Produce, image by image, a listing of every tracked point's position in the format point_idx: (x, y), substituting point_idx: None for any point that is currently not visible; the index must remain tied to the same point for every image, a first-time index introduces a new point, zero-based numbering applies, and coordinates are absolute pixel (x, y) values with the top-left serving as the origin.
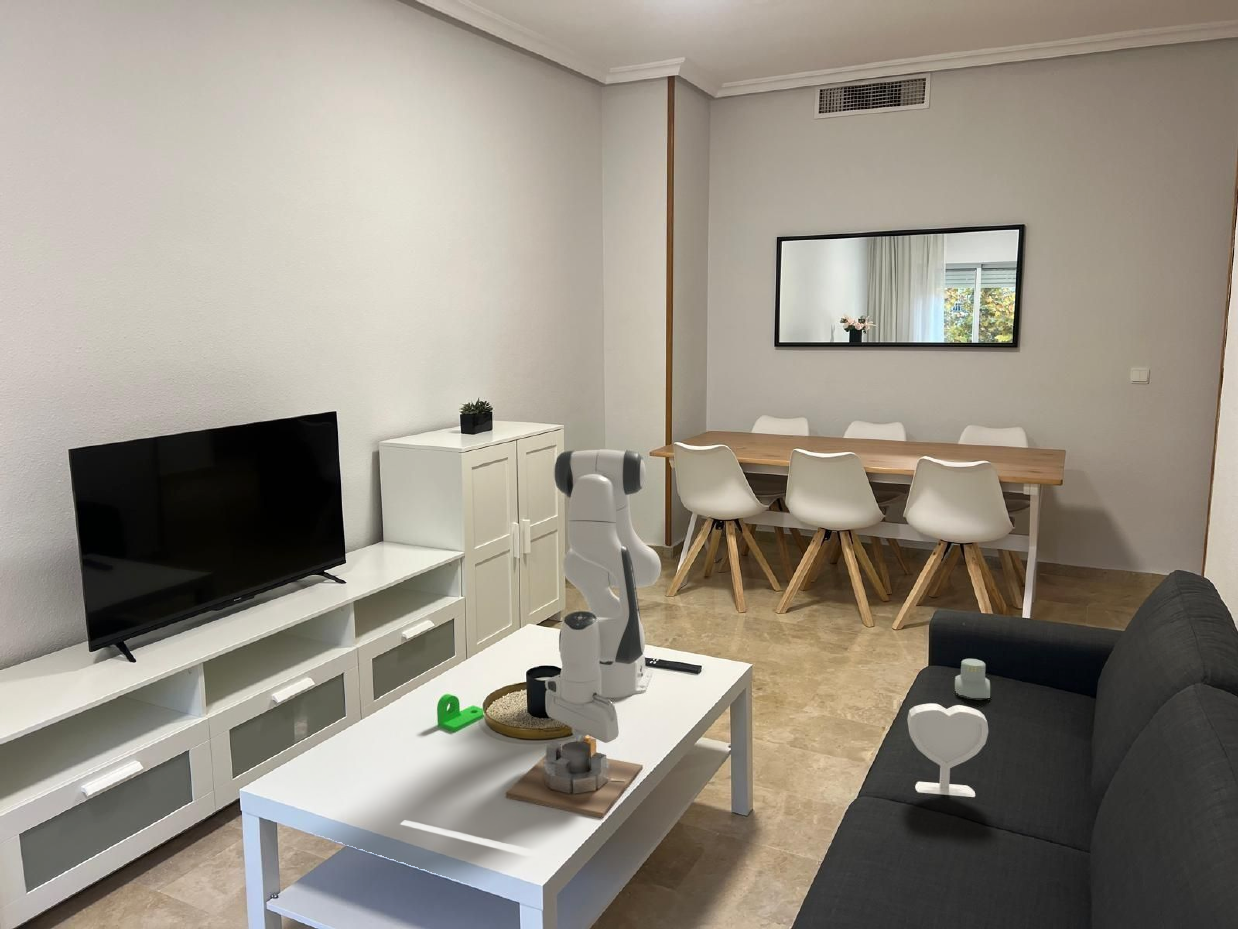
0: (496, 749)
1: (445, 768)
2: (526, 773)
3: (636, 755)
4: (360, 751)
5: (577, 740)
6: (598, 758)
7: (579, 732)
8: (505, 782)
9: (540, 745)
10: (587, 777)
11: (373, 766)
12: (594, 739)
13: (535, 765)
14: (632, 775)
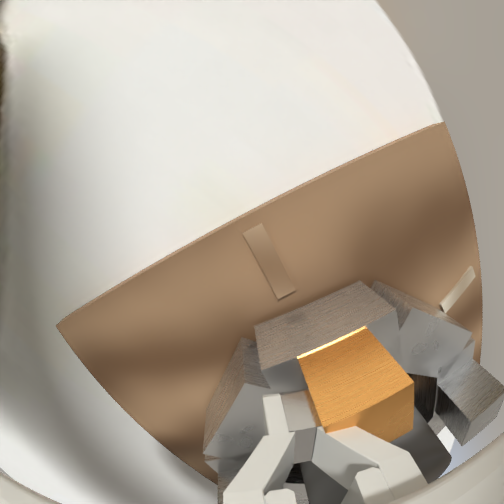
0: (14, 397)
1: (77, 480)
2: (193, 468)
3: (325, 40)
4: (13, 469)
5: (292, 465)
6: (488, 423)
7: (273, 487)
8: (186, 481)
9: (10, 308)
10: (441, 428)
11: (52, 492)
12: (405, 393)
13: (157, 439)
14: (471, 220)
